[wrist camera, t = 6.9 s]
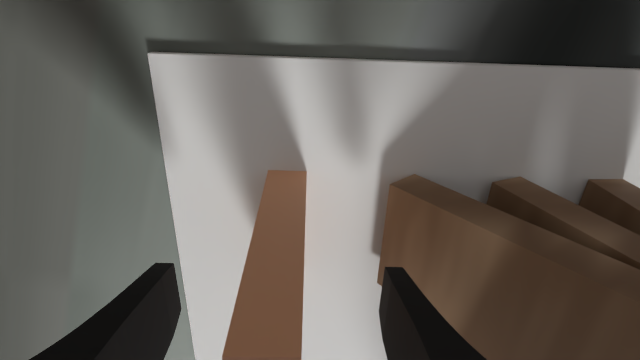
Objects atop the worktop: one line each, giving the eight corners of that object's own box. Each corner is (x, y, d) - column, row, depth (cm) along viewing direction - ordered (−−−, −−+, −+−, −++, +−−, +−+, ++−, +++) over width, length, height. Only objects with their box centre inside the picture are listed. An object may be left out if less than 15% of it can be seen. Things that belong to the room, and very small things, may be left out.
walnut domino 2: (520, 176, 16) (844, 336, 9) (492, 270, 18) (733, 460, 11) (492, 181, 16) (815, 359, 8) (466, 278, 18) (702, 485, 10)
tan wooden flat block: (306, 171, 16) (301, 357, 8) (303, 267, 18) (297, 489, 10) (268, 170, 16) (222, 356, 8) (270, 266, 18) (236, 489, 10)
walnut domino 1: (414, 173, 16) (696, 293, 10) (399, 268, 18) (622, 414, 12) (389, 184, 15) (684, 323, 9) (376, 282, 17) (606, 448, 11)
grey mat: (721, 358, 22) (727, 364, 22) (197, 354, 21) (195, 360, 21) (924, 78, 15) (939, 80, 15) (151, 51, 14) (147, 53, 14)
